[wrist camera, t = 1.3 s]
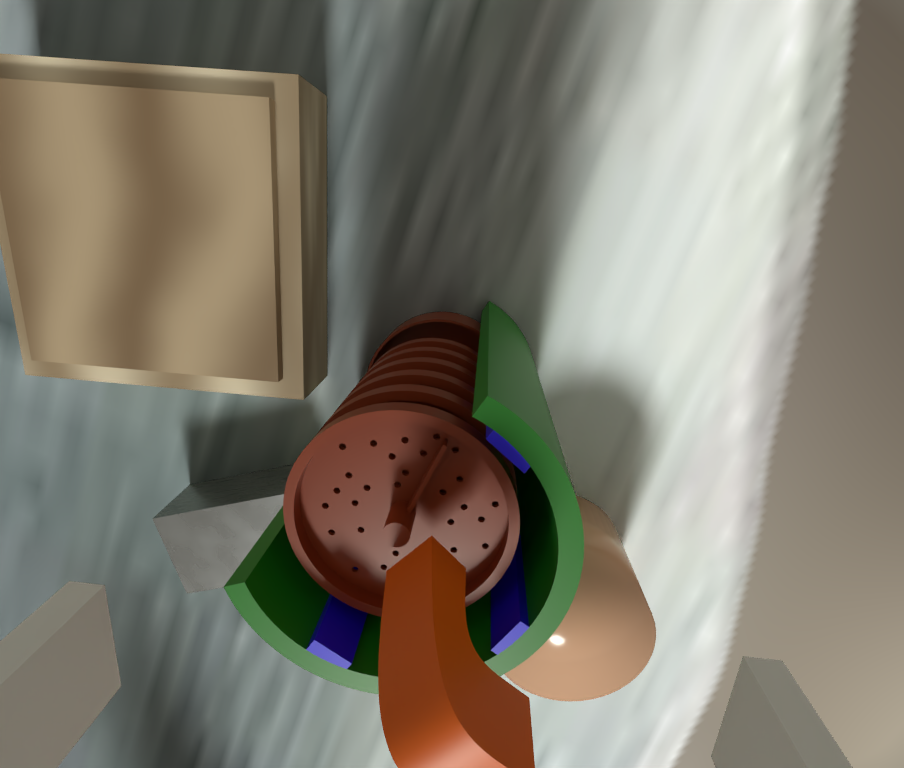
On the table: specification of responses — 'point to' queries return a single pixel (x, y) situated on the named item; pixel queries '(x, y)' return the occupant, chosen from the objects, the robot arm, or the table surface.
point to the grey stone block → (219, 524)
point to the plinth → (165, 224)
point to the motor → (427, 542)
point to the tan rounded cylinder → (594, 624)
